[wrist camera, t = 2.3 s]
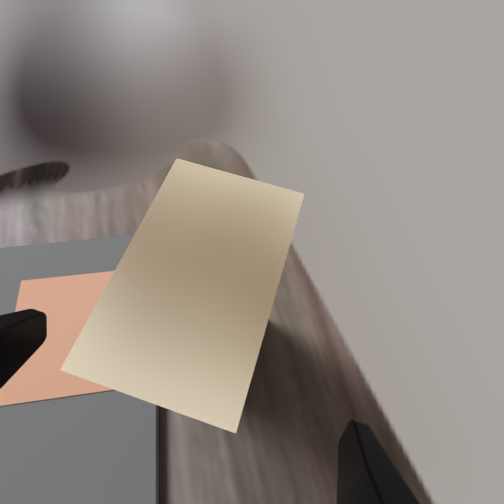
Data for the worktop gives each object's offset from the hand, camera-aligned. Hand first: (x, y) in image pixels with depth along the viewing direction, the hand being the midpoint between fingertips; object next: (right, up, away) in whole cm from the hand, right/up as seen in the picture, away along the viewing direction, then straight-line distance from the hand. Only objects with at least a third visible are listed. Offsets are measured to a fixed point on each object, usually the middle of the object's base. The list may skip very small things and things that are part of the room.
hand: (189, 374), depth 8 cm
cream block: (0, -2, +10) cm, 10 cm away
